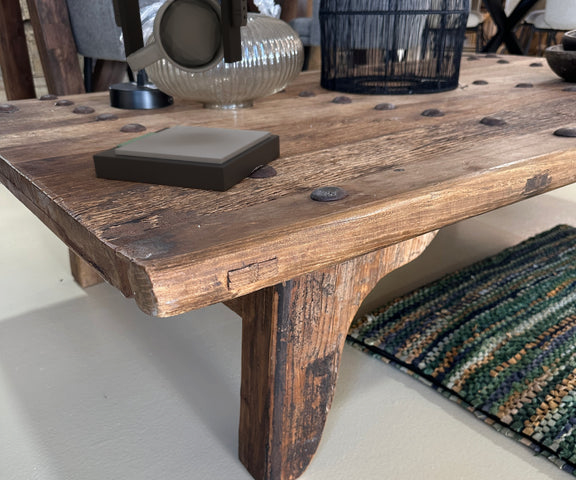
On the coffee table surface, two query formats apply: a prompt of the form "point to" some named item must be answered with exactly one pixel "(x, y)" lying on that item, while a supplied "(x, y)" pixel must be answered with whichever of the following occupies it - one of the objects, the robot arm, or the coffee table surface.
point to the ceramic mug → (184, 37)
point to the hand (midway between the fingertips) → (183, 61)
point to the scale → (189, 157)
